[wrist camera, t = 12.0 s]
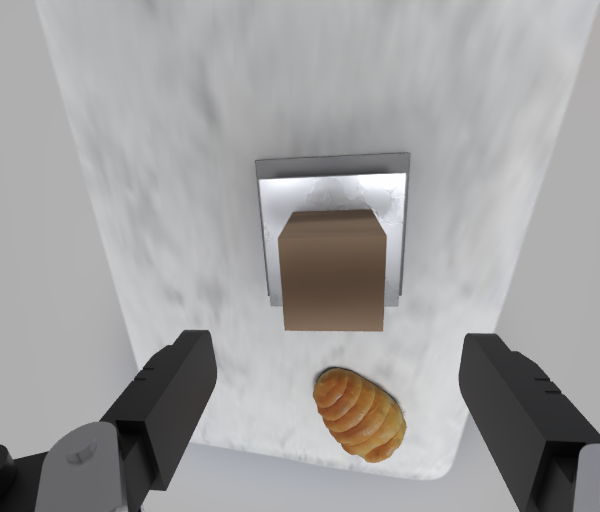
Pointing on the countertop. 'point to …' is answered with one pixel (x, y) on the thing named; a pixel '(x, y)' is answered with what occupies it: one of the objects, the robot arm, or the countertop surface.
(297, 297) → the walnut block
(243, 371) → the countertop surface
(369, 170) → the base
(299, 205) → the pan
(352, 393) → the pastry
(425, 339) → the countertop surface
